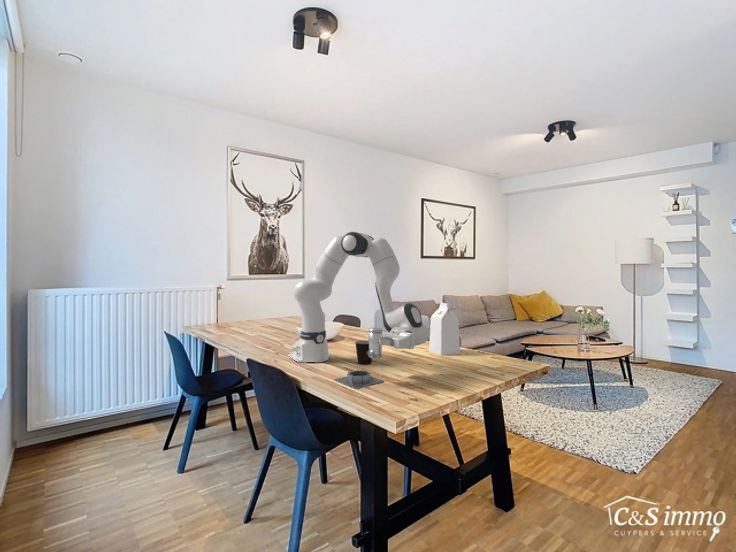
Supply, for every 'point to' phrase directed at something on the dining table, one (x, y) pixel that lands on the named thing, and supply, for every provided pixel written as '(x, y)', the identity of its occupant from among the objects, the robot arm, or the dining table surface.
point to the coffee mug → (363, 352)
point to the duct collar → (359, 379)
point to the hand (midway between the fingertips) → (373, 341)
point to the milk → (444, 331)
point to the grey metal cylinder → (375, 342)
